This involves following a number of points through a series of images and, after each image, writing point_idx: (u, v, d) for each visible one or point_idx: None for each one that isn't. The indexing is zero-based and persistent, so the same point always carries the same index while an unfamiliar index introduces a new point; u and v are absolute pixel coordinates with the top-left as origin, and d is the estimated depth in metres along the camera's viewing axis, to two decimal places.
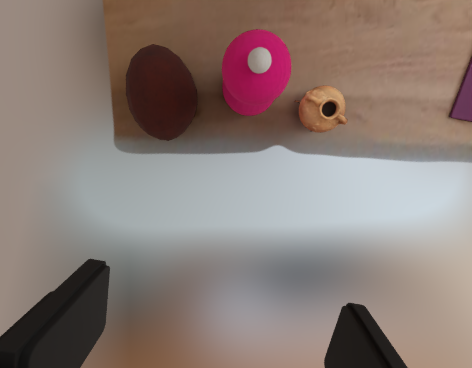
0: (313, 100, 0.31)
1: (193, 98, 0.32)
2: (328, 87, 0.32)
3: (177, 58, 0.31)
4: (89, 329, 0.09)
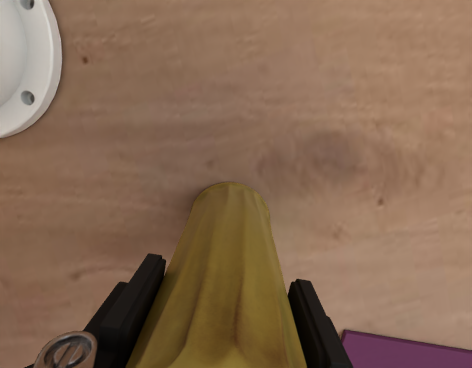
0: None
1: None
2: None
3: None
4: None
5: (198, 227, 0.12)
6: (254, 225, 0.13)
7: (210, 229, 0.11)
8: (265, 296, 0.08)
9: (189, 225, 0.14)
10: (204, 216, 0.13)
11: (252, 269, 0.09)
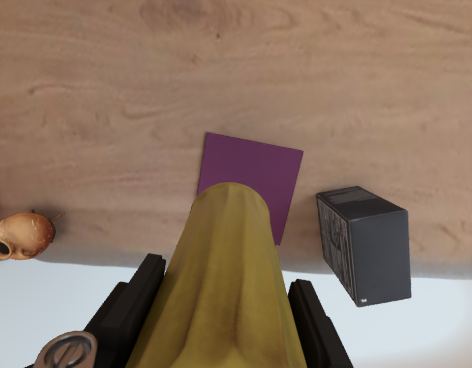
0: None
1: None
2: (13, 220, 0.30)
3: None
4: None
5: (198, 227, 0.12)
6: (254, 225, 0.13)
7: (210, 229, 0.11)
8: (265, 297, 0.08)
9: (189, 225, 0.14)
10: (204, 216, 0.13)
11: (252, 270, 0.09)
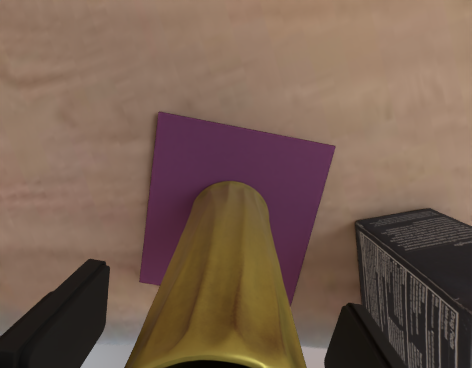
0: None
1: None
2: None
3: None
4: (89, 329, 0.09)
5: (199, 223, 0.13)
6: (253, 221, 0.13)
7: (211, 225, 0.12)
8: (263, 287, 0.08)
9: (190, 222, 0.15)
10: (205, 213, 0.14)
11: (251, 263, 0.09)
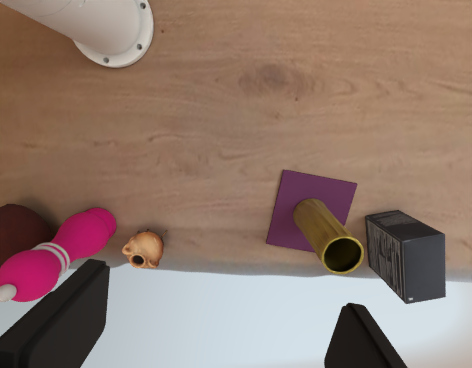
0: None
1: (37, 245, 0.41)
2: (143, 238, 0.40)
3: (20, 218, 0.40)
4: (89, 329, 0.09)
5: (315, 215, 0.38)
6: (332, 215, 0.38)
7: (321, 216, 0.37)
8: (346, 230, 0.33)
9: (306, 215, 0.40)
10: (313, 212, 0.39)
11: (340, 225, 0.34)
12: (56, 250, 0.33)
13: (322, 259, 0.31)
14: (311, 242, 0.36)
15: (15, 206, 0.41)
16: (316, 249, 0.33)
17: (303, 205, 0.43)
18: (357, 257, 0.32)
